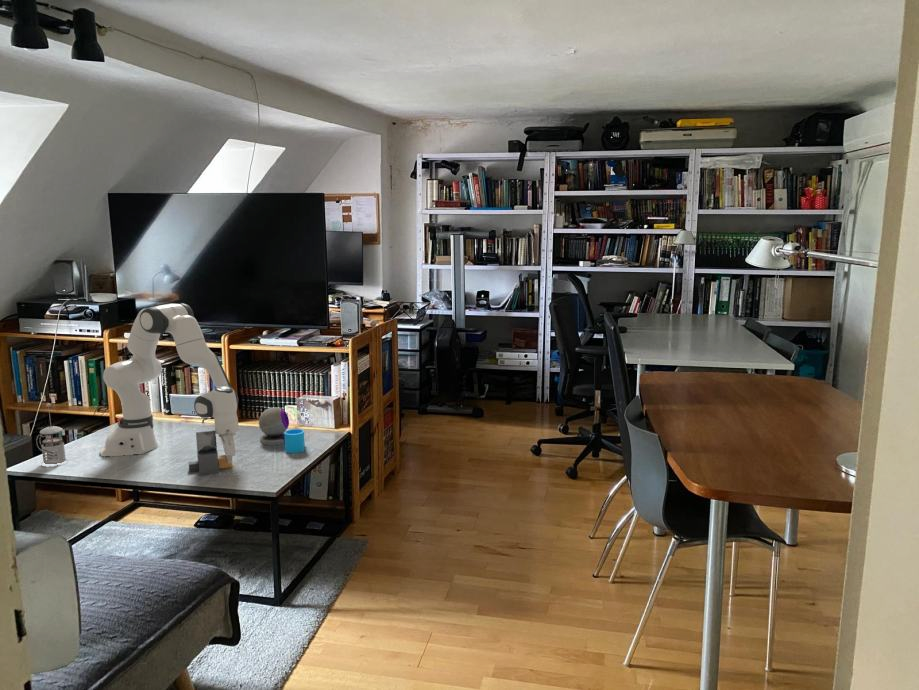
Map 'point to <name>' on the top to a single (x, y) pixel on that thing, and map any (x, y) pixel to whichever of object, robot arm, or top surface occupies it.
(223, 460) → the plug
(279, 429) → the webcam
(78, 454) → the top surface
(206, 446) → the block
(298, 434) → the mug
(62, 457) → the french press
